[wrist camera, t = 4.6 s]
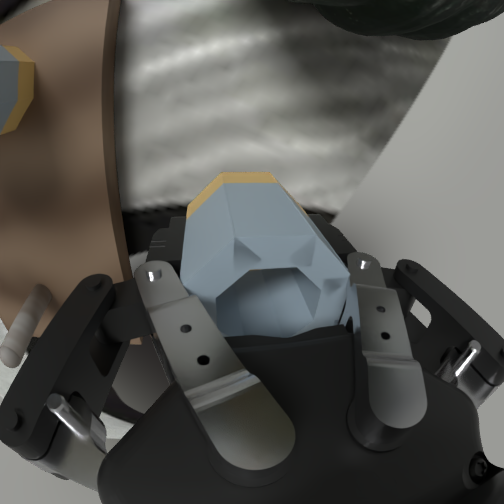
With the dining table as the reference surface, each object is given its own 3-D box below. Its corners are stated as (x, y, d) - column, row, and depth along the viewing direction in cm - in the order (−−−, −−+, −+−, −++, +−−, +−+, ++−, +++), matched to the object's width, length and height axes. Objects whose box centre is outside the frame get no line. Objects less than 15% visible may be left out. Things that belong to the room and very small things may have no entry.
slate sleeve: (186, 173, 12) (173, 239, 7) (301, 172, 13) (365, 233, 8) (192, 271, 15) (192, 365, 9) (289, 266, 15) (327, 351, 10)
